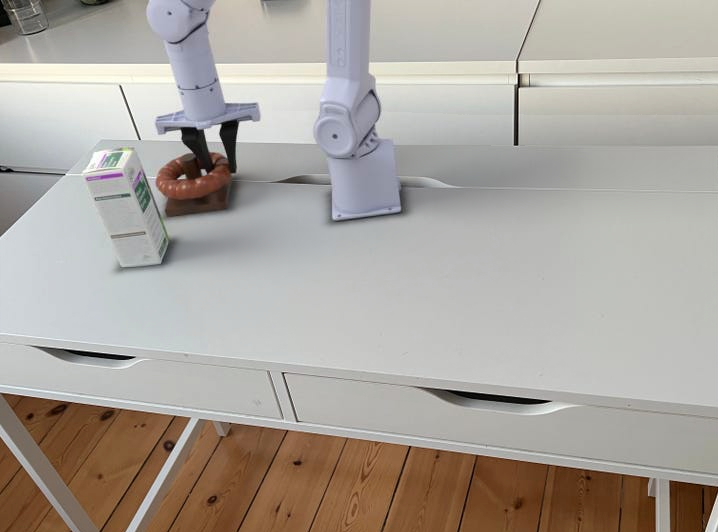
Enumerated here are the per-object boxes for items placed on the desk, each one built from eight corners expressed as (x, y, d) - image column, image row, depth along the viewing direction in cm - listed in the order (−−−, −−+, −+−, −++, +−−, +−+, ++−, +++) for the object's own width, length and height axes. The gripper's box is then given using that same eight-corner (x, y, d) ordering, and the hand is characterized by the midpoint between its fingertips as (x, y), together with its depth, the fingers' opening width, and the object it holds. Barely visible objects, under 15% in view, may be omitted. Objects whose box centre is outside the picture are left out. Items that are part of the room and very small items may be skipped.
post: (232, 178, 119) (221, 138, 115) (227, 209, 112) (215, 167, 108) (175, 186, 119) (162, 146, 115) (166, 217, 113) (152, 176, 108)
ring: (237, 159, 118) (232, 143, 116) (229, 196, 110) (224, 180, 108) (166, 170, 119) (161, 154, 117) (153, 207, 110) (147, 191, 109)
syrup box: (162, 264, 103) (125, 166, 94) (119, 268, 104) (79, 172, 94) (170, 241, 108) (137, 145, 98) (129, 245, 108) (92, 150, 98)
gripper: (140, 100, 102) (170, 191, 111) (248, 85, 101) (269, 178, 110) (149, 79, 107) (177, 168, 116) (251, 65, 106) (272, 155, 115)
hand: (222, 171), depth 113 cm, fingers closed on ring, 3 cm apart
